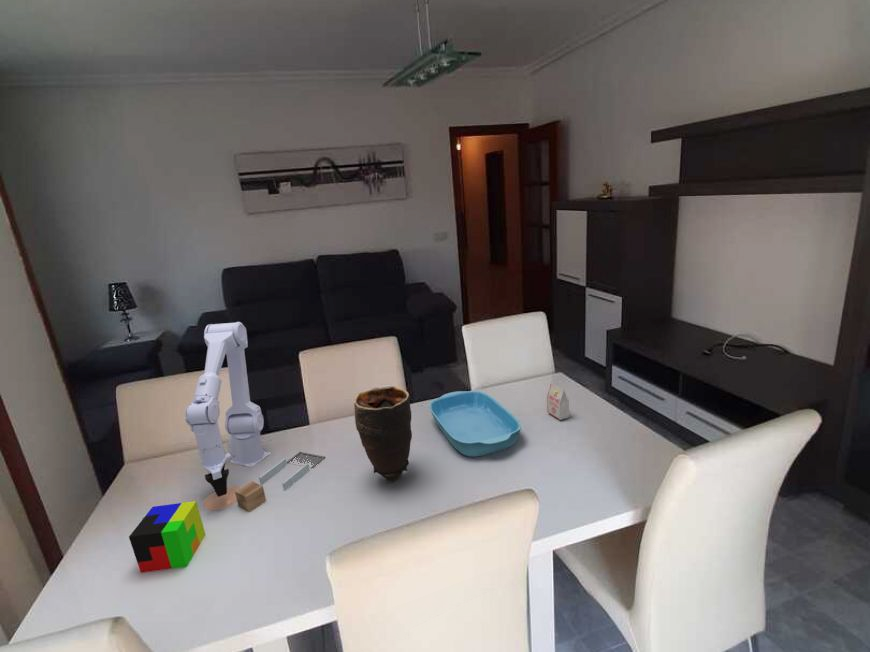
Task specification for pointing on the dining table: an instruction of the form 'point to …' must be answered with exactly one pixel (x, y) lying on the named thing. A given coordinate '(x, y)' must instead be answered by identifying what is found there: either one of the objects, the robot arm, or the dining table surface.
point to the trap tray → (313, 459)
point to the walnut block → (250, 496)
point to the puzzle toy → (167, 536)
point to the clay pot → (385, 428)
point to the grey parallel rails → (280, 466)
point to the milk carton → (557, 402)
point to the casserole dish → (475, 422)
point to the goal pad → (221, 499)
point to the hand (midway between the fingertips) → (221, 489)
